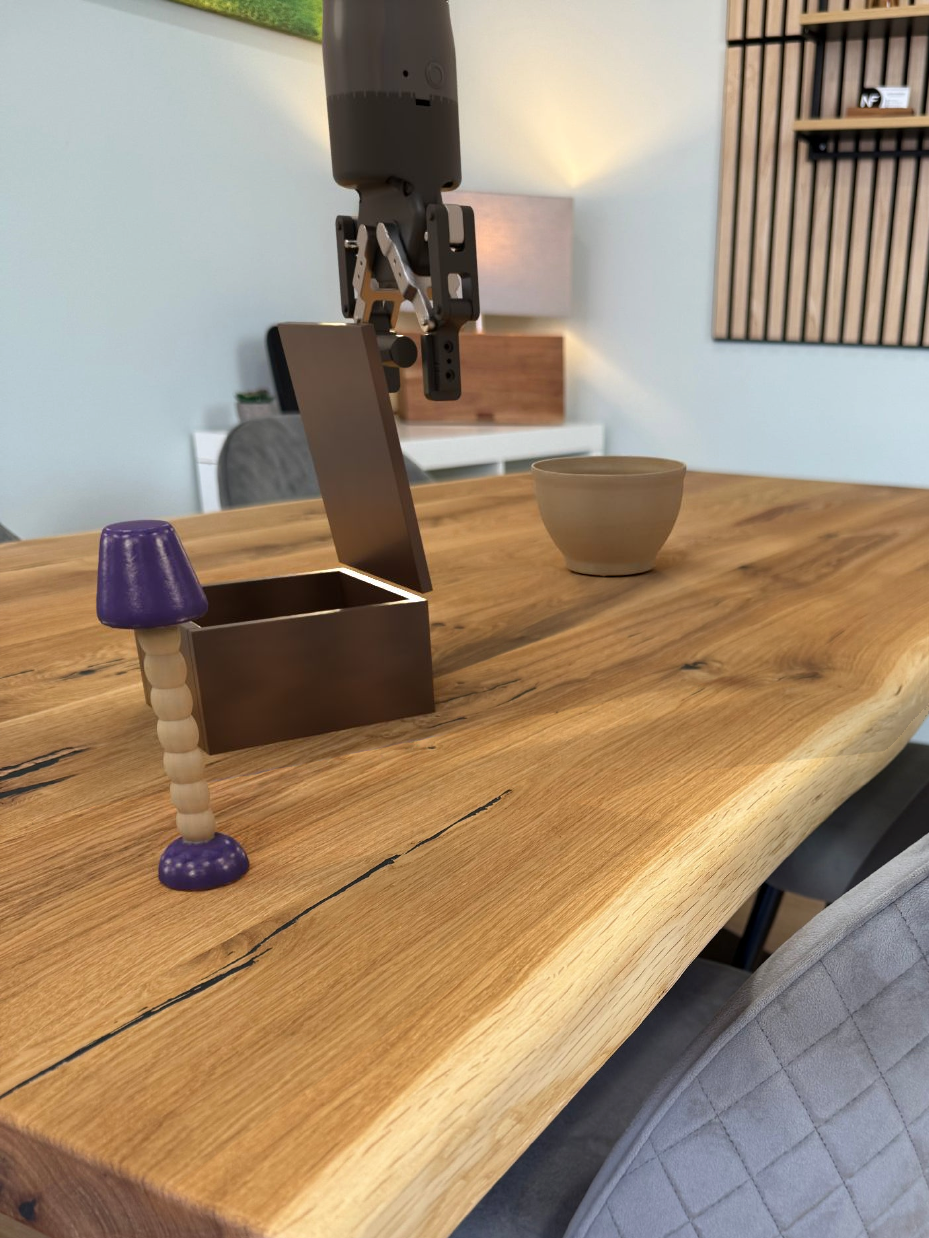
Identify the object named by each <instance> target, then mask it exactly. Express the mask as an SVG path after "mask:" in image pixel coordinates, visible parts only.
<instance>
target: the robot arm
mask: <svg viewBox="0 0 929 1238" xmlns="http://www.w3.org/2000/svg"><path fill="white" fill-rule="evenodd" d="M449 2H450V0H322V23H321V52H322V53H321V54H322V64H323V76H324V89H325V99H326V111H327V113H326V114H327V122H328V124H327V125H328V135H329V147H330V148H329V149H330V159H331V171H332V178H333V181H334V182H335V183H336V184H337V185H338V186H339V187H340V188H343V189H345V190H354V191H355V192H356V193H357V194H358V197H359V199H358V214H357V215H341V214H337V216H336V217H335V223H334V225H335V240H336V252H337V267H338V279H339V293H340V294H339V295H340V306H341V307H340V308H341V313H342V316H343V318H344V319H352V320H353V323H366V324H373V325H374V329H375V333H376V335H398V331H393V330H395V329H396V327H397V323H398V319H399V313H400V309H401V305H402V303H404V302H406V301H408V302H410V303H411V304H412V307H413V310H414V312H415V315H416V318H417V320H418V321H417V322H418V323H419V326H420V329H421V331H422V332H424V334H423V333H420V334H419V339H420V355H421V369H422V370H421V371H422V386H423V387H422V389H423V396H424V398H425V399H426V400H428V401H431V402H456V401H458V400H459V399H460V398H461V396H462V375H461V373H462V371H461V355H460V337H459V336H460V333H463V332H464V331H465V328H466V324H467V323H468V322H477V321H478V320H479V318H480V315H481V302H480V287H479V286H480V285H479V284H480V283H479V271H478V270H479V269H478V254H477V253H478V252H477V237H476V236H477V235H476V220H475V219H476V217H475V211H474V209H473V207H472V206H471V205H463V204H462V205H461V204H457V203H456V204H455V203H444V201H443V195H442V193H449V192H453V191H455V190H457V189H458V188H459V187H460V186H461V184H462V180H463V179H462V178H463V176H462V174H463V173H462V172H463V171H462V155H461V134H460V133H461V132H460V131H461V130H460V114H459V113H460V112H459V110H460V109H459V91H458V71H457V69H458V68H457V54H456V44H455V37H454V32H453V26H452V25H453V24H452V19H451V12H450V4H449ZM459 278H460V279H459ZM460 285H461V297H458V294H457V291H458V290H459V287H460ZM355 291H356V292H355ZM355 293H357V296H356V295H355ZM431 301H432V302H431ZM383 369H384V373H385V378H386V382H387V387H388V391H389V394H396V393H398V392H399V391H400V389H401V387H402V386H401V371H400V370H401V369H400V368H398V367H386V366H383Z"/></svg>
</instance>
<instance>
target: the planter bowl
mask: <svg viewBox="0 0 929 1238" xmlns="http://www.w3.org/2000/svg"><path fill="white" fill-rule="evenodd" d="M530 470H531V476H532V479H533V482H534V493H535V500H536V505H537V509H538V512H539V515H540V518H541V521H542V523H543V525H544V528H545V530H546V531H547V533H548V535H549V537H550V538H551V540H552V542H553V543H554V545H555V546H556V547H557V549H558V550H559V552H561V554H562V555H563V557H564V563H565V568H567V570H569V571H572V572H575V573H578V574H583V575H592V576H601V577H606V576H628V575H636V574H640V573H641V574H642V573H646V572H649V571H650V570H652V569H654V567H655V564H656V560H657V559H656V558H657V555H658V554H659V552H660V551H661V549H663V547H664V545H665V543H666V542H667V541H668V539H669V538H670V535H671V534H672V532H673V529H674V527H675V525H676V522H677V519H678V516H679V513H680V511H681V506H682V501H683V494H684V481H685V478H686V475H687V474H686V473H687V464H686V463H685V462H684V461H680V460H678V459H671V458H664V457H658V456H646V455H645V456H643V455H619V454H617V455H613V454H612V455H609V454H608V455H607V454H606V455H581V456H580V455H579V456H566V457H555V458H548V459H542V460H538V461H535V462H533V463H532V464H531V467H530Z"/></svg>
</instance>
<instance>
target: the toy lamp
mask: <svg viewBox="0 0 929 1238" xmlns="http://www.w3.org/2000/svg"><path fill="white" fill-rule="evenodd" d="M180 538H181V537H180V536H179V534H178V532H177V531H176V529H175V527H174V526H173V525H172V523H170V522H169V521H167V520H162V519H135V520H125V521H119V522H115V523H111V524H108V525H106V526H103V528H102V530H101V533H100V537H99V544H98V545H99V546H98V562H97V575H96V576H97V577H96V595H95V603H96V605H95V611H96V617H97V619H98V621H99V623H100V624H101V625H104V626H105V627H108V628H111V629H118V630H132V631H134V630H137V635H138V640H139V643H140V646H141V647H142V649H143V650H144V651H145V653H146V656H145V659H144V670H145V674H146V677H147V679H148V681H149V682H150V684H151V685H152V686H153V687H152V690H151V704H152V708H153V709H152V708H151V709H152V710H153V713H154V714H155V716H157V718H158V719H157V723H156V732H157V733H156V735H157V738H158V741H159V744H160V745H161V747H162V748H163V749H164V753H163V758H162V759H163V761H162V762H163V769H164V771H165V773H166V776H167V777H168V779H170V781H171V782H170V785H169V796H170V800H171V803H172V804H173V805H174V808H175V809H176V810H177V812H176V814H175V815H176V816H175V817H176V818H175V823H176V824H175V825H176V828H177V831H178V834H179V836H180V837H178V838H176V839H174V840H173V841H172V842H171V843H169V844H168V845H167V847H166V848H165V849H164V851H163V852H162V853H161V855H160V858H159V861H158V866H157V867H158V868H157V879H158V880H159V882H160V884H162V885H163V886H164V887H168V888H169V889H173V890H178V891H183V892H184V891H191V892H192V891H204V890H211V889H216V888H220V887H223V886H227V885H229V884H231V883H234V882H236V881H238V880H240V879H241V878H243V877H244V876H245V875H246V874H247V873H248V872H249V870H250V860H249V856H248V855H247V853H246V850H245V849H244V847H243V846H242V844H240V843H239V841H237V840H236V839H235V838H234V837H232V836H231V835H228V834H225V833H223V832H220V831H216V830H217V829H216V828H217V823H216V817H215V815H214V812H213V810H212V809H211V808H210V802H211V790H210V786H209V784H208V782H207V780H206V779H205V777H204V774H205V769H206V766H205V759H204V756H203V753H202V750H200V747H198V746H197V744H198V741H199V731H198V727H197V724H196V721H195V720H194V718H193V717H192V715H191V712H192V707H193V701H192V696H191V693H190V690H189V688H188V687H187V685H186V684H185V679H186V675H187V668H186V663H185V660H184V658H183V656H182V654H181V653H180V652H179V647H180V643H181V634H180V630H179V627H178V625H179V624H183V623H187V622H190V621H193V620H196V619H198V618H200V617H202V616H203V615H204V614H205V613H206V612H207V610H208V602H207V599H206V596H205V594H204V591H203V589H202V587H201V584H202V583H201V582H200V580H199V578H198V576H197V574H196V572H195V569H194V567H193V565H192V562H191V560H190V558H189V556H188V553H187V551H186V549H185V546H184V544H183V543H182V541H181V539H180Z"/></svg>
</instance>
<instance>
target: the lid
mask: <svg viewBox="0 0 929 1238" xmlns="http://www.w3.org/2000/svg"><path fill="white" fill-rule="evenodd" d="M276 326H277V330H278V333H279V337H280V343H281V346H282V348H283V353H284V357H285V361H286V364H287V368H288V372H289V376H290V379H291V384H292V389H293V391H294V396H295V399H296V403H297V406H298V410H299V414H300V418H301V423H302V426H303V430H304V433H305V437H306V441H307V445H308V448H309V452H310V457H311V460H312V464H313V468H314V472H315V476H316V479H317V483H318V487H319V491H320V494H321V495H320V496H321V499H322V503H323V506H324V510H325V514H326V518H327V522H328V525H329V529H330V533H331V537H332V541H333V545H334V548H335V553H336V556H337V560H338V563H339V564H342V565H345V566H347V567H350V568H352V569H355V570H358V571H361V572H363V573H366V574H367V575H368V574H369V575H372V576H374V577H376V578H379V579H381V580H384V581H387V582H390V583H392V584H395V585H398V586H400V587H403V588H405V589H408V590H411V591H413V592H416V593H419V594H421V595H424V594H428V593H430V592H433V591H434V587H433V585H432V580H431V576H430V575H431V574H430V571H429V566H428V561H427V558H426V552H425V549H424V544H423V538H422V534H421V530H420V525H419V521H418V517H417V512H416V508H415V507H416V506H415V503H414V499H413V494H412V490H411V485H410V482H409V477H408V473H407V467H406V463H405V459H404V455H403V450H402V445H401V440H400V437H399V432H398V428H397V427H398V426H397V423H396V419H395V418H396V417H395V414H394V410H393V405H392V401H391V396H390V393H389V391H388V387H387V382H386V378H385V373H384V369H383V366H386V367H398V368H399V369H409V368H411V367H412V366H414V364H415V363H416V362H417V360H418V356H419V350H418V347H417V344H416V342H415V341H414V339H412V338H411V337H410V336H407V335H398V334H397V335H376V333H375V329H374V325H373V324H366V323H354V322H326V321H325V322H321V321H320V322H318V321H283V322H278V323H277V324H276Z"/></svg>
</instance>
